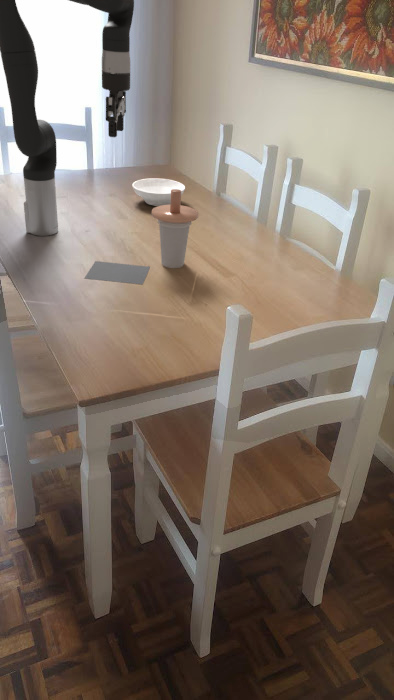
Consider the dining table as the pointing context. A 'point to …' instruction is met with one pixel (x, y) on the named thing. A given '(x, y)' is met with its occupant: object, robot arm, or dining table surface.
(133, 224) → the dining table surface
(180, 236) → the coffee cup
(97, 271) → the mat
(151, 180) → the bowl
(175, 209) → the lid
